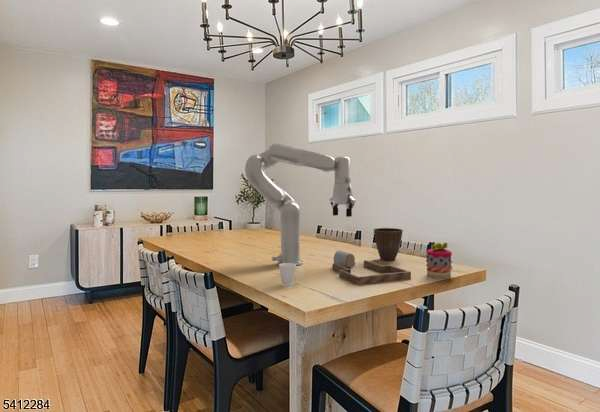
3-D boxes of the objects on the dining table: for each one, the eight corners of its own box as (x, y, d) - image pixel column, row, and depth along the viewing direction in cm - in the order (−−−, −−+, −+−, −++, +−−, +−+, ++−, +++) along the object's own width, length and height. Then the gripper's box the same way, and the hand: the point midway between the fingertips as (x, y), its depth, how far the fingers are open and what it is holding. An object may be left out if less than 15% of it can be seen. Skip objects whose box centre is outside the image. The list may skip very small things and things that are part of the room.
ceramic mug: (346, 269, 185) (346, 253, 185) (333, 266, 191) (333, 251, 190) (359, 266, 193) (359, 250, 192) (346, 264, 198) (346, 248, 198)
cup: (281, 281, 162) (281, 262, 161) (305, 283, 159) (305, 263, 159) (276, 286, 155) (276, 265, 154) (301, 287, 152) (301, 267, 152)
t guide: (357, 285, 156) (357, 277, 156) (325, 270, 183) (325, 264, 183) (410, 278, 166) (410, 271, 166) (372, 265, 193) (372, 259, 193)
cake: (420, 274, 174) (421, 240, 173) (437, 271, 179) (438, 239, 178) (439, 279, 165) (440, 243, 164) (456, 276, 170) (457, 242, 169)
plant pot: (397, 263, 198) (397, 232, 197) (369, 260, 206) (369, 230, 205) (405, 258, 211) (406, 229, 210) (379, 256, 218) (379, 227, 218)
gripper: (360, 181, 192) (359, 216, 193) (335, 181, 205) (335, 214, 206) (348, 181, 187) (348, 217, 188) (325, 181, 201) (325, 215, 202)
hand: (342, 215), depth 197 cm, fingers open, 9 cm apart
